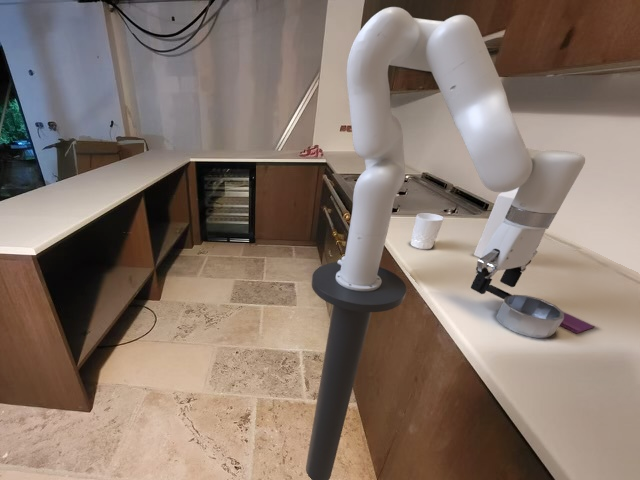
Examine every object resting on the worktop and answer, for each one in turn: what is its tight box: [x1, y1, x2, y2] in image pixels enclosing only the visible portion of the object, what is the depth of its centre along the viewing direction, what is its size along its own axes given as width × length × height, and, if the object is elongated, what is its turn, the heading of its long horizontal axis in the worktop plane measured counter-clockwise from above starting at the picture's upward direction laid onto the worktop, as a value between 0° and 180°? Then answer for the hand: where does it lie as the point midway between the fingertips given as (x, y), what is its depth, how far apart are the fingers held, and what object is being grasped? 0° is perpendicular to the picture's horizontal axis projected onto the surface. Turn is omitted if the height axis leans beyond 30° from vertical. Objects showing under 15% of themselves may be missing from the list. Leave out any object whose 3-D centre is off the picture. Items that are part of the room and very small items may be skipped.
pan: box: [486, 284, 565, 339], centre depth 72 cm, size 15×10×5 cm, turn 20°
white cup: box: [410, 212, 445, 250], centre depth 106 cm, size 8×8×10 cm
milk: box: [473, 187, 519, 259], centre depth 95 cm, size 6×6×22 cm
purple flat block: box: [559, 312, 595, 334], centre depth 73 cm, size 12×6×1 cm, turn 20°
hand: (492, 287), depth 76 cm, fingers open, 9 cm apart
